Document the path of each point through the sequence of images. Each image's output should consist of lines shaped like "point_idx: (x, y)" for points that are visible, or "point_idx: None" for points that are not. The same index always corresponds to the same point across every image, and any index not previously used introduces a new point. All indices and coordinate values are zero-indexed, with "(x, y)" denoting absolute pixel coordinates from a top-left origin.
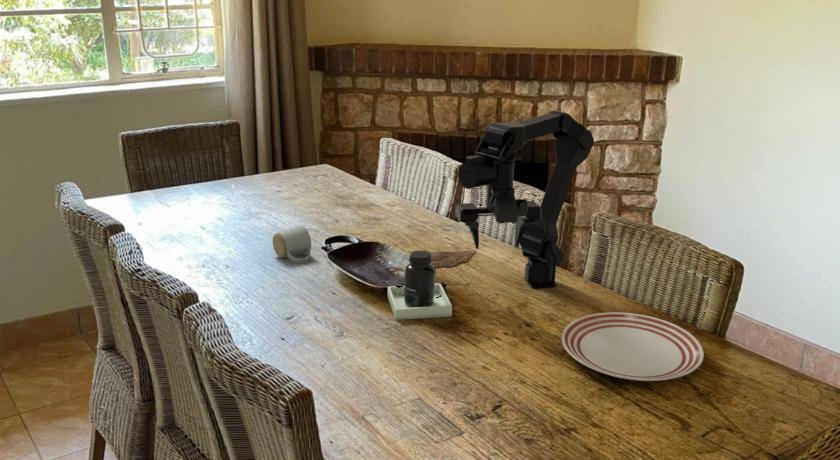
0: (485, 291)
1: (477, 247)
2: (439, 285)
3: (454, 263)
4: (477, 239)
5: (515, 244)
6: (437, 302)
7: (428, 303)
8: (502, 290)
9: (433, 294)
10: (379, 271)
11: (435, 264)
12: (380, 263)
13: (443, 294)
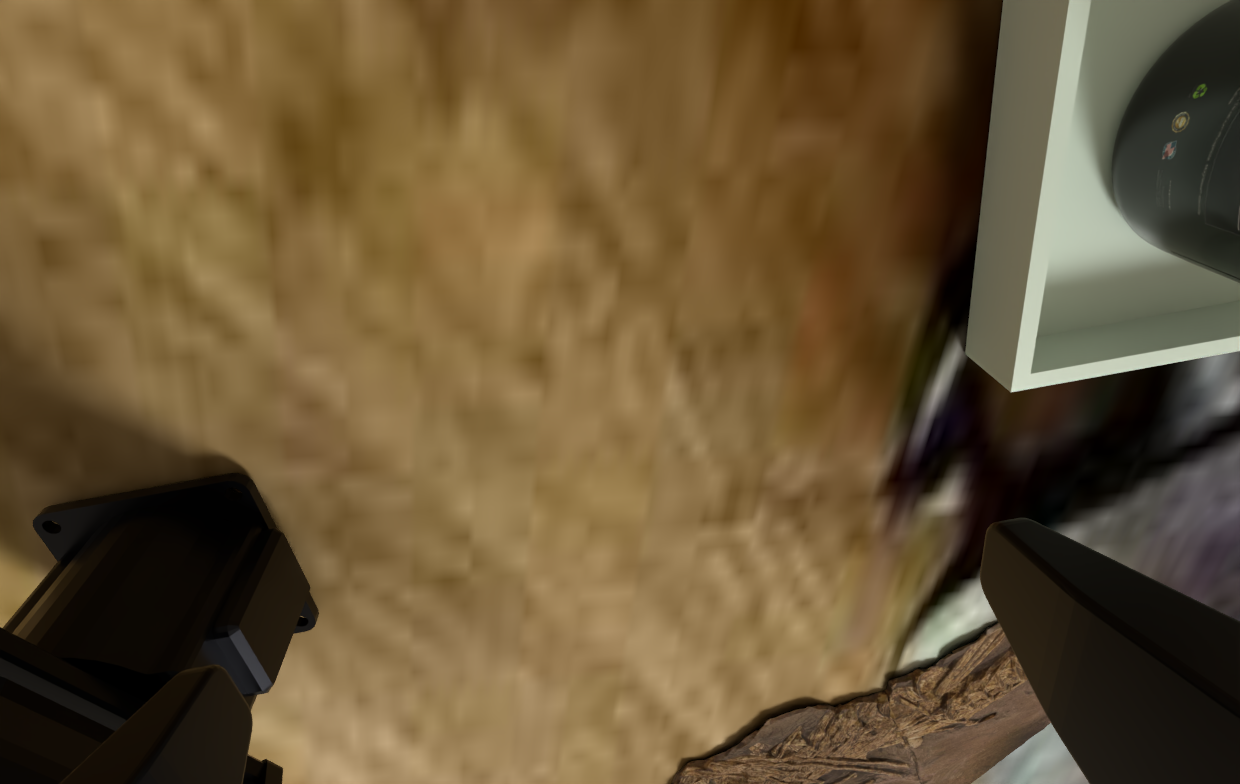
0: (621, 403)
1: (1033, 530)
2: (1033, 355)
3: (764, 741)
4: (1219, 657)
5: (222, 722)
6: (1071, 142)
7: (1233, 14)
8: (487, 427)
9: (1216, 90)
10: None
11: (878, 720)
12: None
13: (1056, 183)
